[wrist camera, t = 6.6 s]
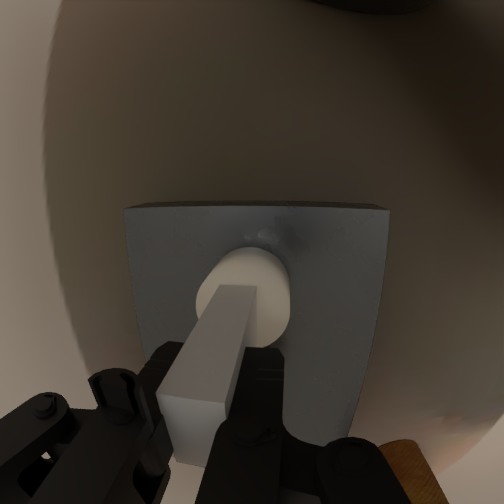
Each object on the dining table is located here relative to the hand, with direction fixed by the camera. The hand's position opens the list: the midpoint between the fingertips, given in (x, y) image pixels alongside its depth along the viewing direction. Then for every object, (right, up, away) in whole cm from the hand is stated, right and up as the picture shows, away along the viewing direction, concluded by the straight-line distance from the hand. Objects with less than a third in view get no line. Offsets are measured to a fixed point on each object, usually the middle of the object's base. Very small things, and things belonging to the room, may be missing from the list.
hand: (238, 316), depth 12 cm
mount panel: (+1, -4, +8) cm, 9 cm away
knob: (+1, +2, +6) cm, 6 cm away
